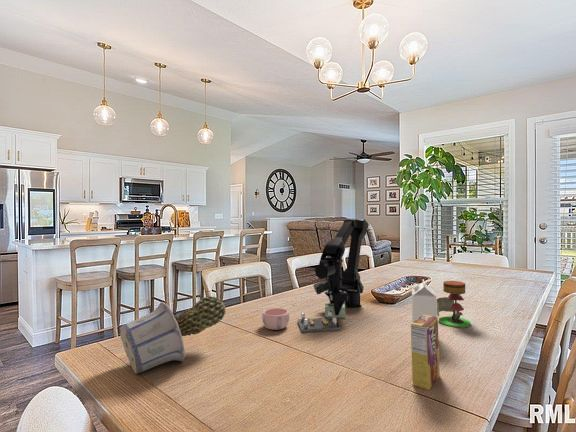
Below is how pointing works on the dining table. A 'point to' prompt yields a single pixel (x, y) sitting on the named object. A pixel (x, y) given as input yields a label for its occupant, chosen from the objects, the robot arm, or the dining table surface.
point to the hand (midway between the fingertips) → (334, 312)
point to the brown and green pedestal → (452, 304)
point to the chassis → (318, 323)
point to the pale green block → (331, 308)
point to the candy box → (425, 351)
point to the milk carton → (423, 301)
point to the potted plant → (167, 332)
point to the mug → (275, 318)
